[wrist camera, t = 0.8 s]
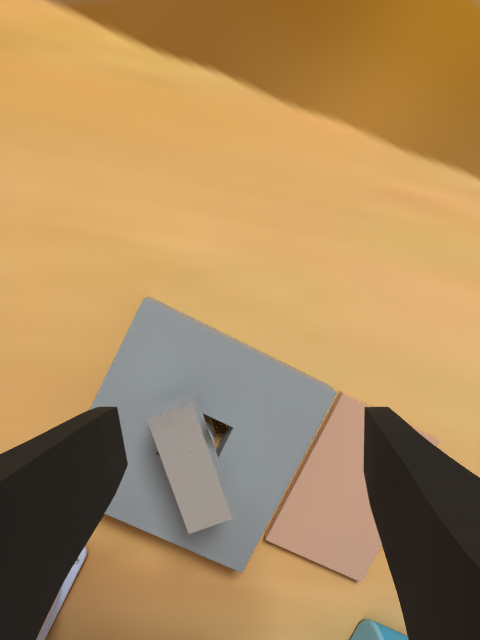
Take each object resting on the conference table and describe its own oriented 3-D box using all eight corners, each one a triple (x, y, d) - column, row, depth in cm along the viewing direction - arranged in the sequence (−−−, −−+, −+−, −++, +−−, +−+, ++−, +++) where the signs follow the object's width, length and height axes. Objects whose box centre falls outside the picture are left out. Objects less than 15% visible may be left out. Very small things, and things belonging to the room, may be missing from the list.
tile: (358, 576, 29) (361, 582, 28) (264, 534, 28) (265, 539, 27) (434, 437, 28) (438, 440, 27) (340, 390, 27) (342, 393, 27)
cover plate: (240, 552, 28) (241, 572, 26) (62, 474, 27) (50, 490, 25) (328, 384, 27) (336, 392, 25) (149, 296, 26) (143, 297, 24)
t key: (229, 468, 27) (232, 518, 21) (195, 479, 27) (188, 534, 21) (198, 377, 27) (192, 404, 21) (162, 389, 27) (146, 419, 21)
